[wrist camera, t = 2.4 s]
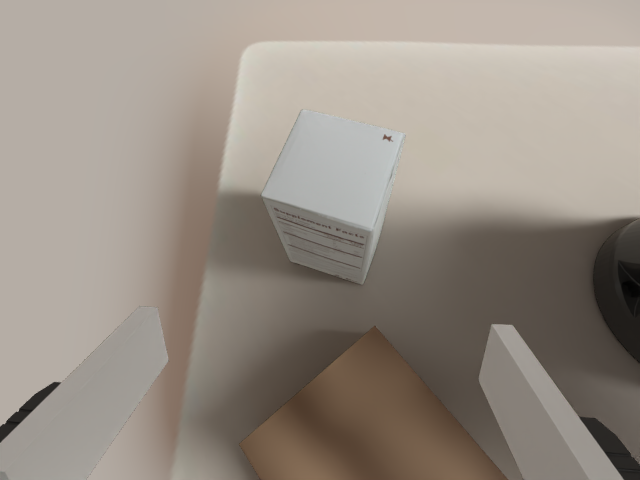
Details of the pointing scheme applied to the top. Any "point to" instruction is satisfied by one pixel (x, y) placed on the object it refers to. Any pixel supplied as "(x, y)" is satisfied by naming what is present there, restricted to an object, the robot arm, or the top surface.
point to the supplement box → (333, 192)
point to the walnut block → (366, 426)
